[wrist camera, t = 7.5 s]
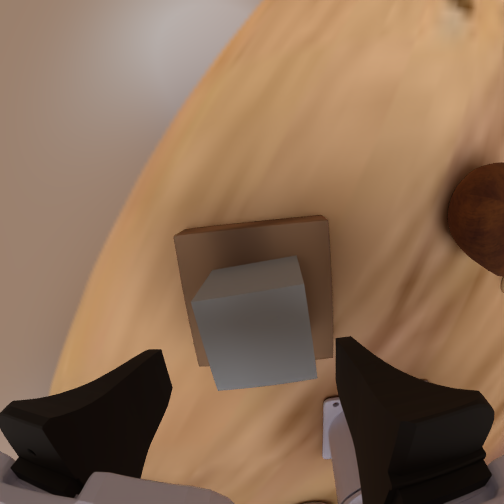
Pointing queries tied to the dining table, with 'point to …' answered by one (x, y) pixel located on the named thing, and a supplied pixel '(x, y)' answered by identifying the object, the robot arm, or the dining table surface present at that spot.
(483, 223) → the wooden figurine
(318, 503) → the beverage can
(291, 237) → the walnut block
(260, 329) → the slate cube
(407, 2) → the dining table surface
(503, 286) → the grandmother figurine
